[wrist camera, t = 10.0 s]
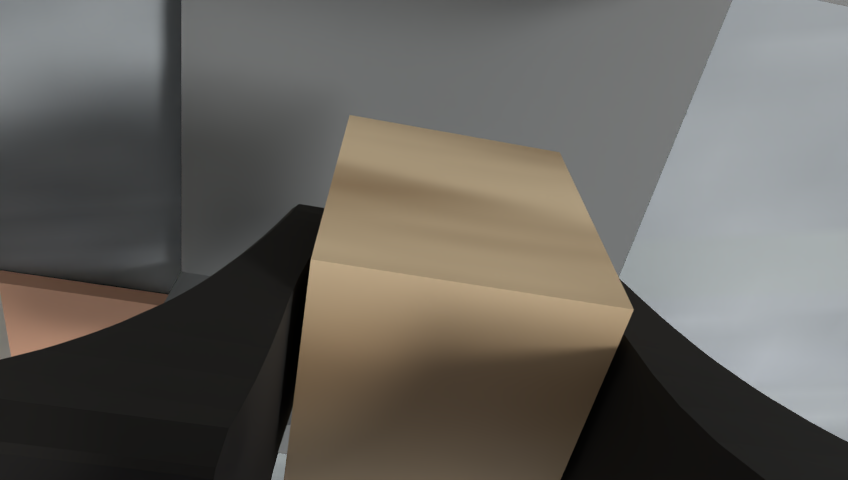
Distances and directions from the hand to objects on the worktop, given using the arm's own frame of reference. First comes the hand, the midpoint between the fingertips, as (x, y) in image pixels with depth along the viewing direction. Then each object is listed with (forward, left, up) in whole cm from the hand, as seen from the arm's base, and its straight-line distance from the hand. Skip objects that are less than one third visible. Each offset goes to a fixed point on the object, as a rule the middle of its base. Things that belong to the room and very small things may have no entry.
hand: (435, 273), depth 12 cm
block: (0, 0, -2) cm, 2 cm away
